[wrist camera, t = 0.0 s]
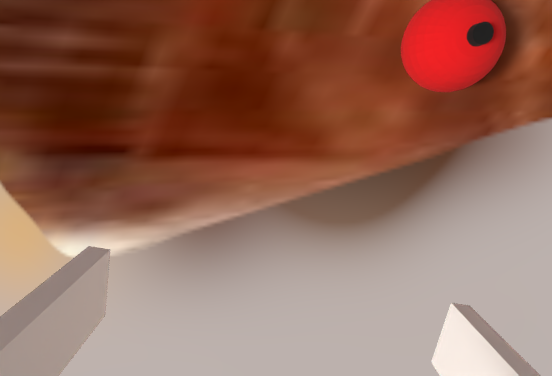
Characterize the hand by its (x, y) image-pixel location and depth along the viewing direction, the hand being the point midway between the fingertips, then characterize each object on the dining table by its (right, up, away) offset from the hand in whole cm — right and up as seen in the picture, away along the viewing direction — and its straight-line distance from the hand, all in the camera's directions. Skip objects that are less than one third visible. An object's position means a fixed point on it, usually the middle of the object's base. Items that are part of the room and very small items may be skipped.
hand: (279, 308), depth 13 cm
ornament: (+17, +20, +25) cm, 36 cm away
